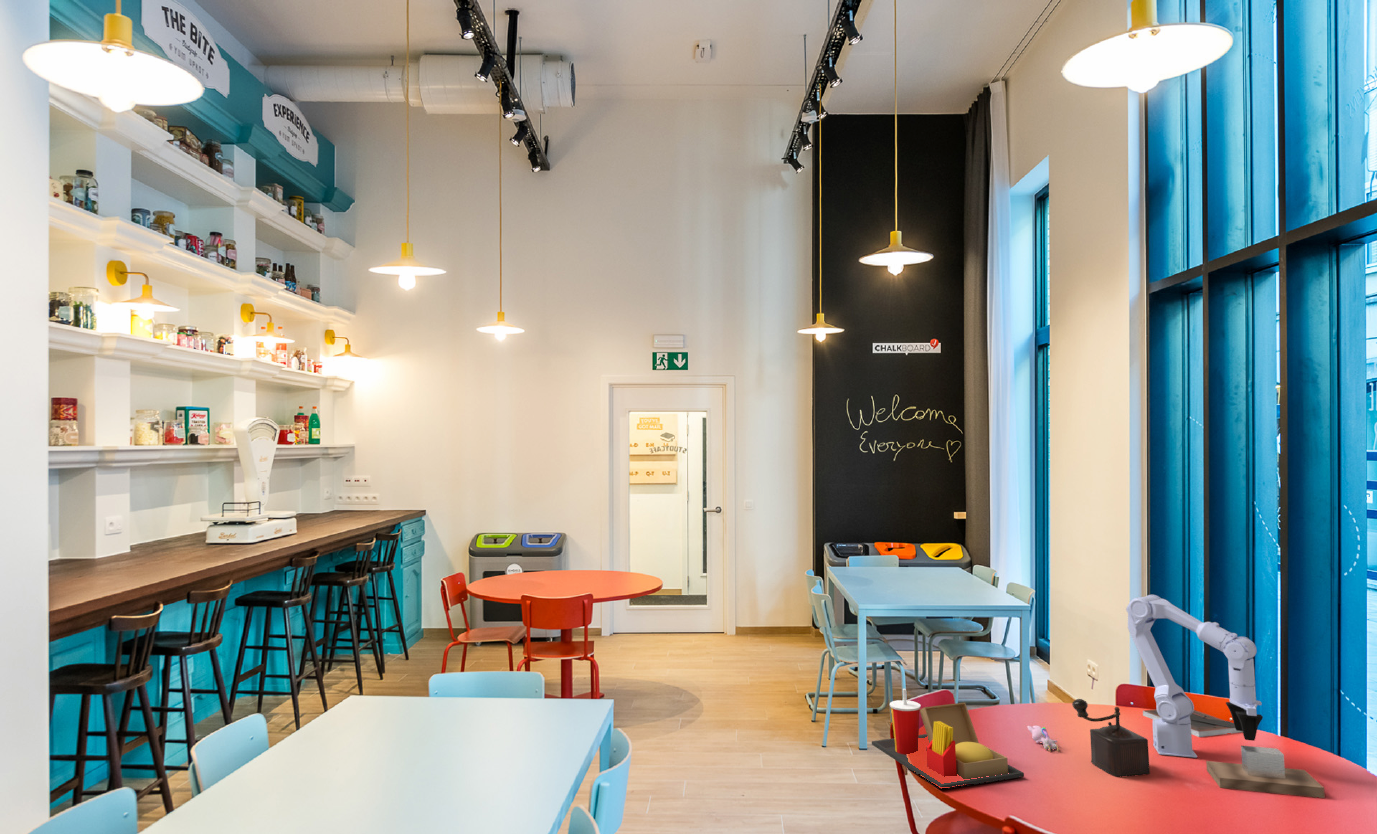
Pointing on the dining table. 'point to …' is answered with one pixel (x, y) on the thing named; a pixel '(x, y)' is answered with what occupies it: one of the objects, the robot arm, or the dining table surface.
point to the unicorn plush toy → (1042, 737)
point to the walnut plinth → (1265, 780)
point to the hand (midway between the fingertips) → (1245, 735)
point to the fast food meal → (944, 743)
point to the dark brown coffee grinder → (1116, 746)
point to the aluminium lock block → (1263, 762)
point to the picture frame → (1202, 723)
